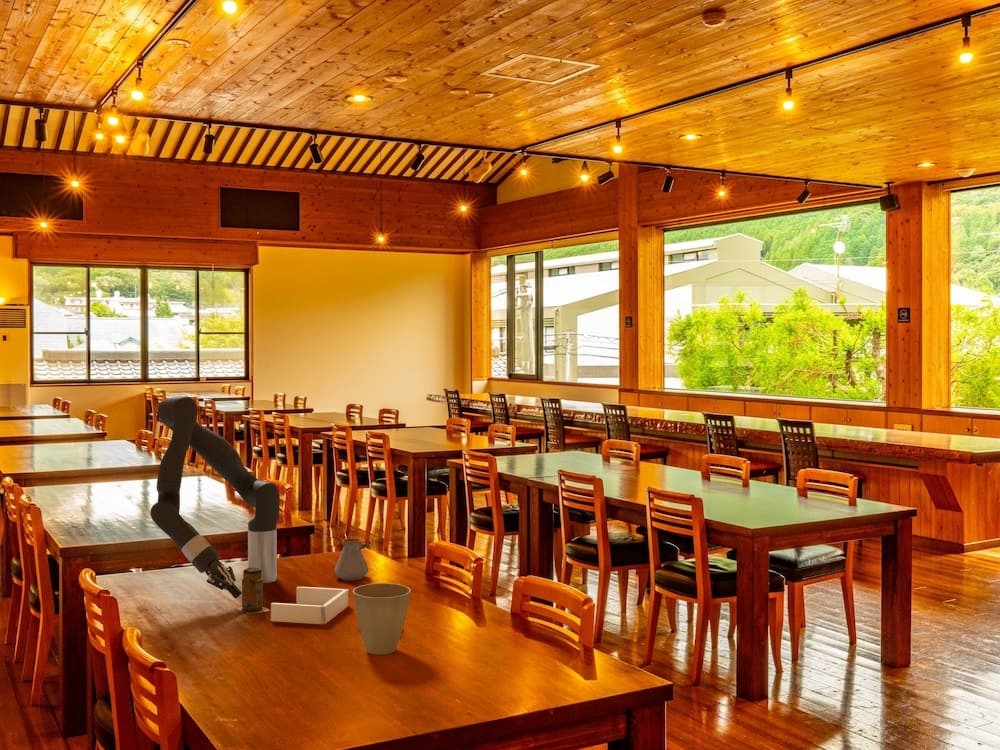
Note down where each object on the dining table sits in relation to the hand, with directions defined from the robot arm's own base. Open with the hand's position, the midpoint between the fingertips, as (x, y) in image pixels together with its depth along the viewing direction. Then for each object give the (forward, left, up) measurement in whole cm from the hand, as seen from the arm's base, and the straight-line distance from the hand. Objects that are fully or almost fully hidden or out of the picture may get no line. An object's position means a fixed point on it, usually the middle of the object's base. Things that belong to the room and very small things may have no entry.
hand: (238, 596), depth 299 cm
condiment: (0, +4, -4) cm, 6 cm away
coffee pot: (-40, +23, -4) cm, 47 cm away
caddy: (0, +22, -4) cm, 23 cm away
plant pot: (+30, +53, -4) cm, 62 cm away
